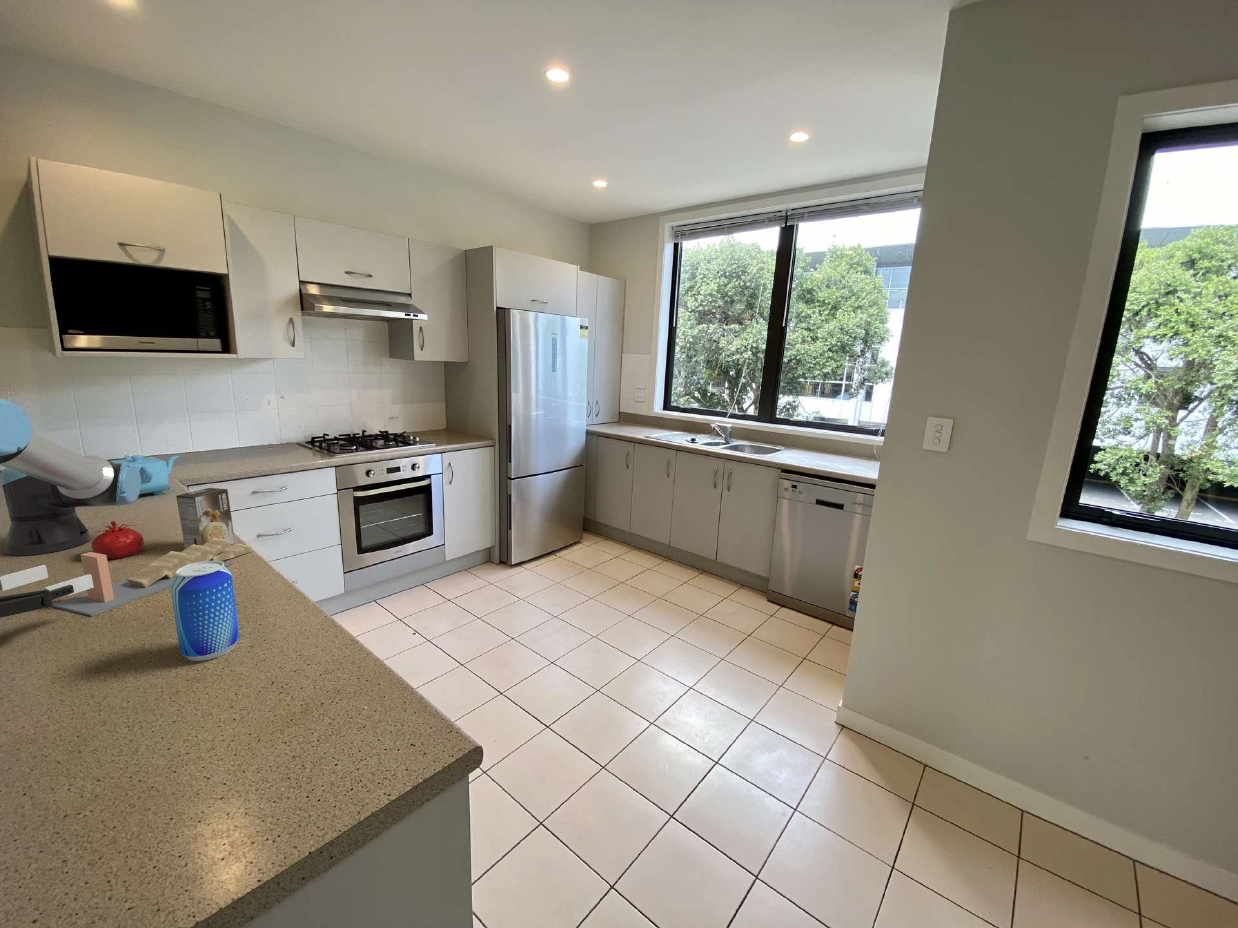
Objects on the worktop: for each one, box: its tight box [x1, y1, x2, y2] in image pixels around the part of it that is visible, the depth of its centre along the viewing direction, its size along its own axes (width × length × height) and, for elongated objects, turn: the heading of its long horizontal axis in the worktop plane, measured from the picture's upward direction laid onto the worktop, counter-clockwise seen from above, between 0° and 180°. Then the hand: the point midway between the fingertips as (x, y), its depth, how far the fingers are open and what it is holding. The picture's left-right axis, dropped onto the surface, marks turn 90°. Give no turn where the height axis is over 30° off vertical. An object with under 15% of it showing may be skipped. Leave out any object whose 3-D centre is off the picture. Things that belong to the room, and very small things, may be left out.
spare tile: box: [80, 551, 114, 602], centre depth 106 cm, size 2×5×10 cm, turn 74°
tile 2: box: [126, 550, 189, 588], centre depth 117 cm, size 2×5×10 cm
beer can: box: [169, 561, 241, 662], centre depth 89 cm, size 8×8×16 cm
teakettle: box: [109, 454, 181, 499], centre depth 184 cm, size 19×19×15 cm
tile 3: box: [163, 544, 211, 579], centre depth 121 cm, size 2×5×10 cm
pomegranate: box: [91, 520, 145, 560], centre depth 130 cm, size 10×10×9 cm
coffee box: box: [175, 487, 236, 550], centre depth 136 cm, size 9×6×16 cm
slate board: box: [51, 560, 233, 617], centre depth 115 cm, size 12×28×1 cm, turn 164°
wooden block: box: [208, 543, 253, 561], centre depth 131 cm, size 2×5×10 cm
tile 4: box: [195, 538, 231, 563], centre depth 126 cm, size 2×5×10 cm
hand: (68, 575), depth 101 cm, fingers open, 13 cm apart
